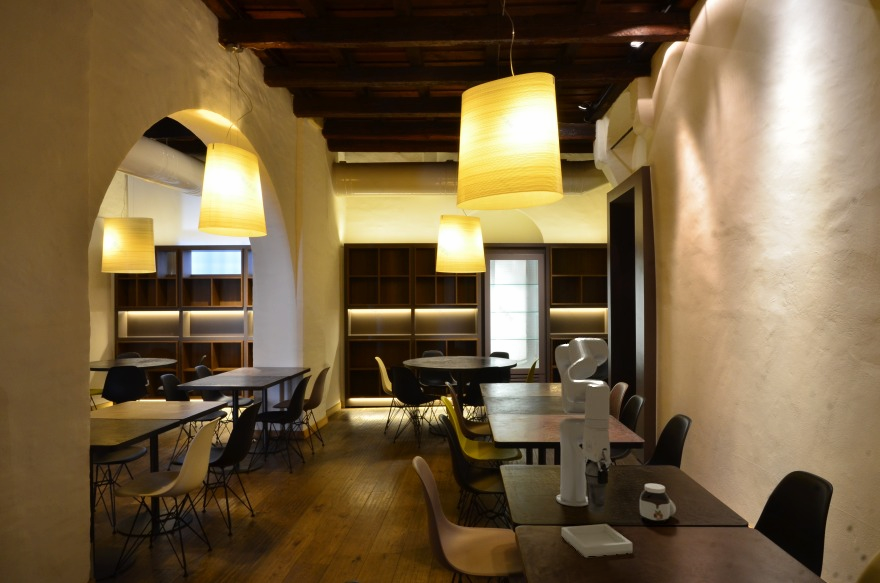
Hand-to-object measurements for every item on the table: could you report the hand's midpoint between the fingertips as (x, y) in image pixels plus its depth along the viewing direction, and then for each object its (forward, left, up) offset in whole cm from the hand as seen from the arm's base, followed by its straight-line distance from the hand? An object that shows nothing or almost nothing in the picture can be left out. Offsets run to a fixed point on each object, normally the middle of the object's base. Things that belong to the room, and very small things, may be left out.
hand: (596, 479), depth 188 cm
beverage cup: (0, 0, -10) cm, 10 cm away
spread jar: (-17, +33, -21) cm, 43 cm away
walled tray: (0, 0, -21) cm, 21 cm away
